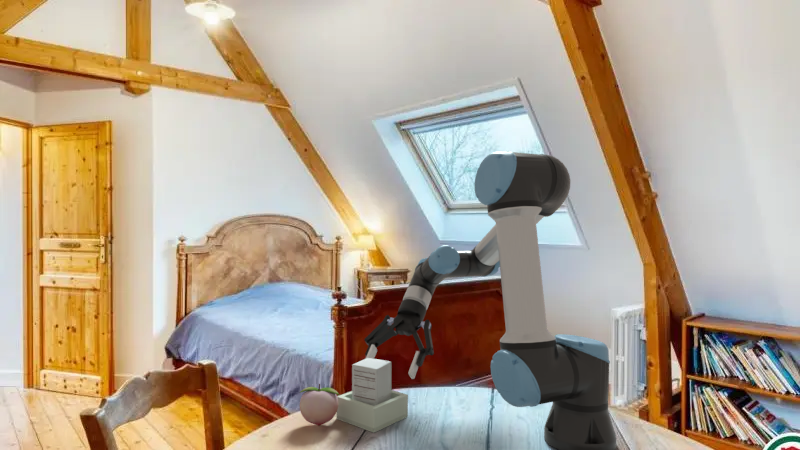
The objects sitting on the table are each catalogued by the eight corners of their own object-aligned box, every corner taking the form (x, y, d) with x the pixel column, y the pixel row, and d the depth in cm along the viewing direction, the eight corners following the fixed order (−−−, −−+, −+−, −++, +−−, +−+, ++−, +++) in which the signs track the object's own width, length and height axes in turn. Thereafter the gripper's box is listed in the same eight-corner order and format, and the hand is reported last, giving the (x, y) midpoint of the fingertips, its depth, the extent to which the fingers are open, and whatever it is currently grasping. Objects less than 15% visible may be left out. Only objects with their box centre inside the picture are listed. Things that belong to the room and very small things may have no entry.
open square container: (407, 416, 128) (407, 394, 127) (373, 432, 118) (374, 408, 118) (370, 404, 135) (371, 384, 135) (336, 418, 126) (336, 396, 126)
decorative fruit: (297, 434, 117) (297, 390, 116) (300, 420, 125) (300, 379, 125) (339, 432, 118) (339, 389, 118) (339, 418, 126) (339, 378, 126)
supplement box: (367, 405, 132) (367, 356, 132) (392, 411, 128) (392, 361, 128) (350, 415, 125) (351, 364, 125) (376, 421, 122) (377, 368, 122)
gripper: (458, 317, 142) (435, 387, 130) (381, 309, 154) (353, 372, 141) (451, 301, 138) (426, 371, 125) (372, 294, 150) (342, 357, 137)
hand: (387, 372), depth 133 cm, fingers open, 13 cm apart
